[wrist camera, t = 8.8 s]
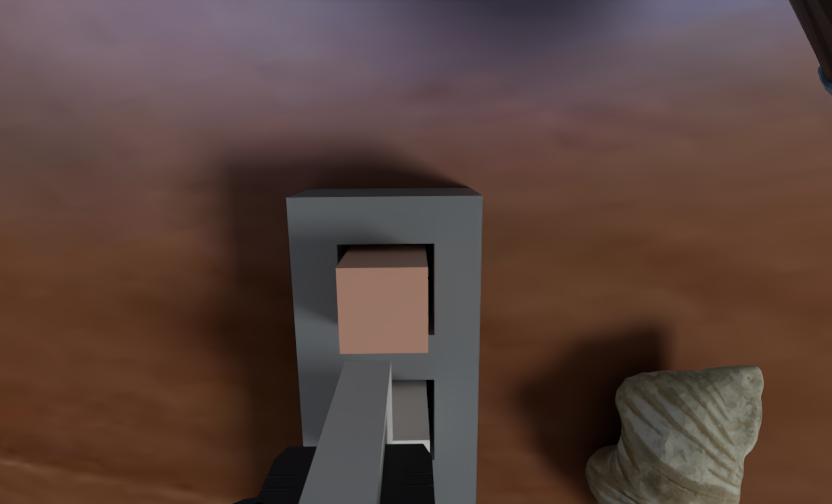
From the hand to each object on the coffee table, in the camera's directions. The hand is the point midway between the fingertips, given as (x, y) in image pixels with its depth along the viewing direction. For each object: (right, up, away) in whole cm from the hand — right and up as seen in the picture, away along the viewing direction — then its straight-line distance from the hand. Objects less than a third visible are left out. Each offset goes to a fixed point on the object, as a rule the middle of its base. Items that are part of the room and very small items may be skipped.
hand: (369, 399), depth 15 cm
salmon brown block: (0, +3, +15) cm, 16 cm away
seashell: (+19, -9, +21) cm, 30 cm away
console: (0, -5, +20) cm, 20 cm away
